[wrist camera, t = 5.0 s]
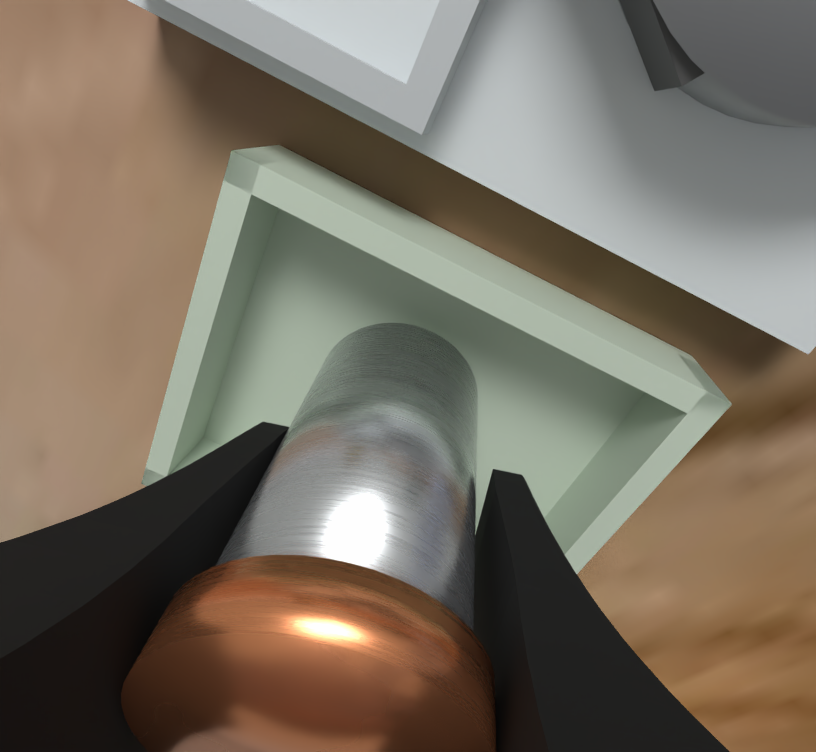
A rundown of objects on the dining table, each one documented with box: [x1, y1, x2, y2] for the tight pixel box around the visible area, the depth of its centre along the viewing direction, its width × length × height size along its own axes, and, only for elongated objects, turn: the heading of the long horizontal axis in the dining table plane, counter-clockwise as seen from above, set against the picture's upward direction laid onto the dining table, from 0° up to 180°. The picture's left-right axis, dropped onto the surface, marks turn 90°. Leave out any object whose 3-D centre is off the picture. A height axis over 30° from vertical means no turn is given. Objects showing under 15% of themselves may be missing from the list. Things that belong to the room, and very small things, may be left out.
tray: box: [141, 145, 732, 574], centre depth 14 cm, size 11×9×2 cm
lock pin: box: [121, 323, 496, 752], centre depth 10 cm, size 5×5×8 cm
